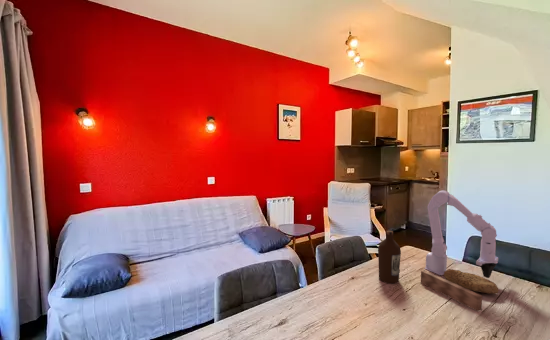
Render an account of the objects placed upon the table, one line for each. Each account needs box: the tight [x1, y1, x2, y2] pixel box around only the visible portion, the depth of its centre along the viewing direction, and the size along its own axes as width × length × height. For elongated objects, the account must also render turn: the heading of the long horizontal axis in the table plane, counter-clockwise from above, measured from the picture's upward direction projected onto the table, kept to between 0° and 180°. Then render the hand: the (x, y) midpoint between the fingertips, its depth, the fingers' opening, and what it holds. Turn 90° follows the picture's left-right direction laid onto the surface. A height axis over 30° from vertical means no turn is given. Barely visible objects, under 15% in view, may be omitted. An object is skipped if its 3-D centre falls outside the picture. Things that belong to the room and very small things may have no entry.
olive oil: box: [377, 230, 402, 285], centre depth 135 cm, size 11×11×25 cm
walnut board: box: [420, 269, 483, 312], centre depth 120 cm, size 26×2×6 cm, turn 23°
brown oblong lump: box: [443, 268, 499, 294], centre depth 127 cm, size 13×8×20 cm
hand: (486, 277), depth 132 cm, fingers closed
